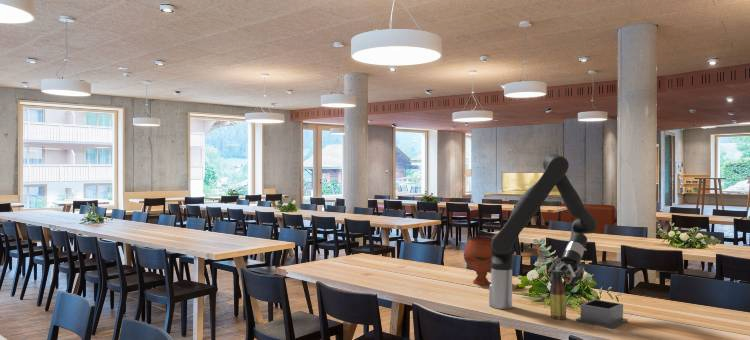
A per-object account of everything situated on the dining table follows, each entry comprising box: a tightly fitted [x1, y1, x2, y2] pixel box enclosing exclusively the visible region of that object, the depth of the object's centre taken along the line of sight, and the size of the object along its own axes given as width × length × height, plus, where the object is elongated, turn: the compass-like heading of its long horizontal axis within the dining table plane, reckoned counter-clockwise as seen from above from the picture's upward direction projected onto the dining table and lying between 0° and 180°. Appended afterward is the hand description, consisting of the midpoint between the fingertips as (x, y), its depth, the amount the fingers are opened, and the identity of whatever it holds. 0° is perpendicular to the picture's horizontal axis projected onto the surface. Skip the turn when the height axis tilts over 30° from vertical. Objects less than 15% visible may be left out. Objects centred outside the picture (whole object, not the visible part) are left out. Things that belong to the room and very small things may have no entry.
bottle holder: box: [575, 298, 629, 329], centre depth 226 cm, size 15×15×7 cm
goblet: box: [463, 235, 493, 285], centre depth 302 cm, size 19×19×25 cm
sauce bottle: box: [549, 270, 567, 321], centre depth 231 cm, size 6×6×20 cm
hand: (560, 284), depth 233 cm, fingers open, 8 cm apart
